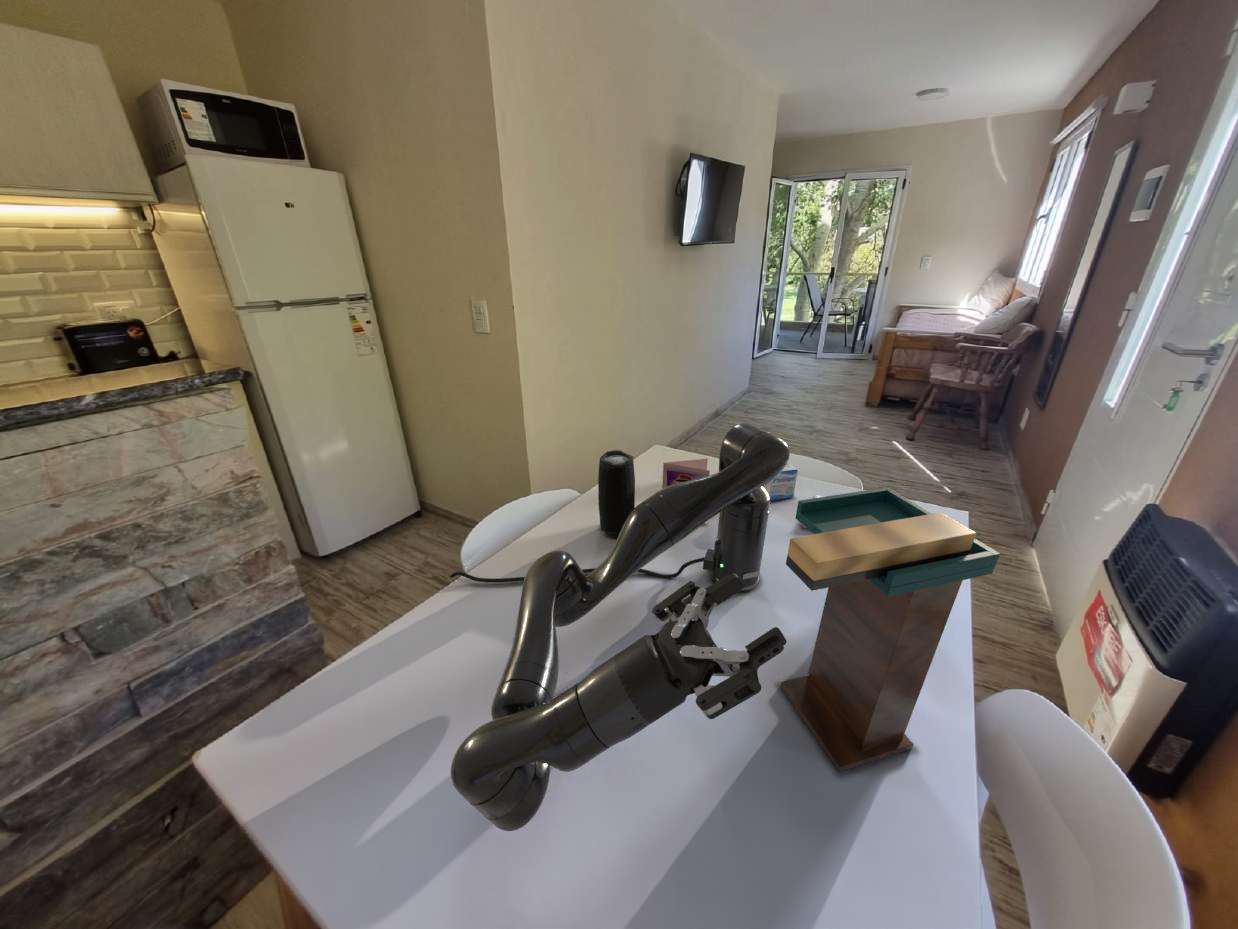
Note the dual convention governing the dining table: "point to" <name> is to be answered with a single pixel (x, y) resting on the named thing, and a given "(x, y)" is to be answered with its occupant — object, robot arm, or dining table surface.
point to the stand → (869, 669)
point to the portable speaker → (615, 490)
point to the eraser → (876, 549)
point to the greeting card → (684, 471)
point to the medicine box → (783, 484)
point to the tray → (884, 508)
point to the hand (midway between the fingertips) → (759, 605)
